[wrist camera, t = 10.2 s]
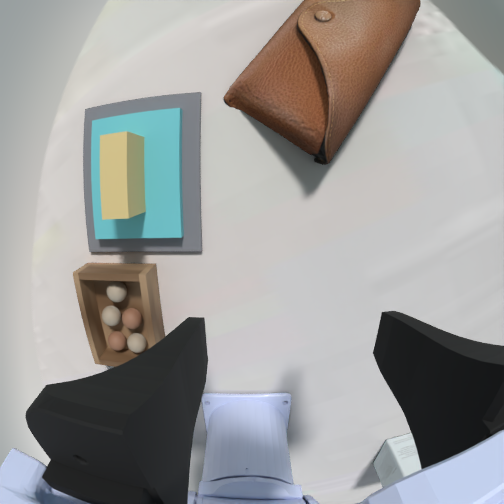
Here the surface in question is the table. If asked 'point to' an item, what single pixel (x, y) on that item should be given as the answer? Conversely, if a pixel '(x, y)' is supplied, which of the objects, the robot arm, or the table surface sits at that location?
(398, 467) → the skincare box
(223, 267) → the table surface
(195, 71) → the table surface
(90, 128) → the mat
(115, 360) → the box
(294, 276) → the table surface
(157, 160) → the lid
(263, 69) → the sunglasses case
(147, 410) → the robot arm
